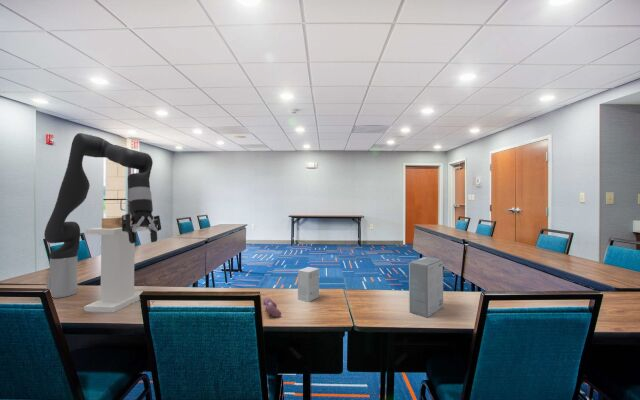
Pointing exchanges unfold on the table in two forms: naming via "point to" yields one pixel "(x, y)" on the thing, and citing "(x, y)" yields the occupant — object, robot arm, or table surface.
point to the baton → (112, 223)
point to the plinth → (115, 270)
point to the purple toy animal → (271, 307)
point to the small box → (308, 284)
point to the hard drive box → (425, 286)
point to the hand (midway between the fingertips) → (144, 242)
